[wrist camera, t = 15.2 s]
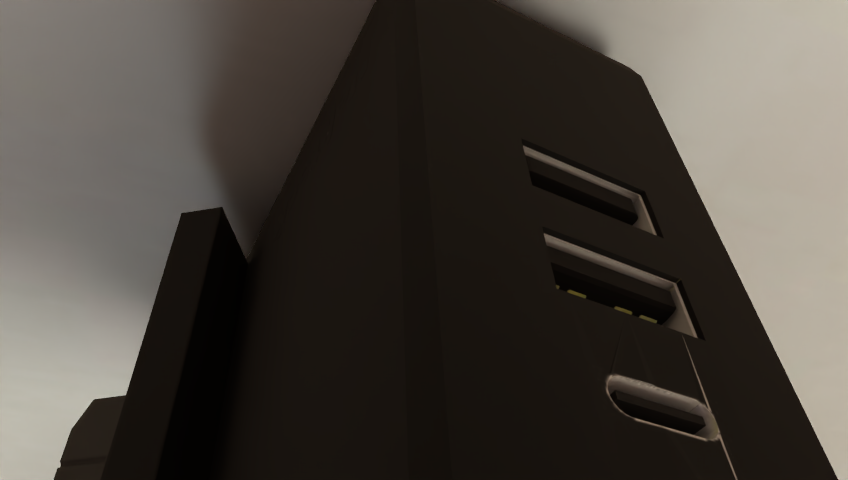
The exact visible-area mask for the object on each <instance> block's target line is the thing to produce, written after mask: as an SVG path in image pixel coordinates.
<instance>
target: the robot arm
mask: <svg viewBox="0 0 848 480" xmlns="http://www.w3.org/2000/svg"><path fill="white" fill-rule="evenodd" d="M247 267H248V263H247V261H246V258H245V256H244V254H243V252H242V250H241V248H240V245H239V243H238V241H237V239H236V237H235V234H234V232H233V230H232V228H231V226H230V223H229V221H228V219H227V217H226V215H225V213H224V210H223V208H222V207H220V208H213V209H207V210H200V211H193V212H187V213H181V217H180V220H179V223H178V227H177V230H176V233H175V236H174V240H173V243H172V246H171V250H170V253H169V256H168V259H167V263H166V266H165V269H164V273H163V276H162V279H161V282H160V286H159V289H158V292H157V295H156V299H155V302H154V305H153V309H152V312H151V315H150V318H149V322H148V325H147V328H146V332H145V335H144V338H143V341H142V345H141V348H140V351H139V355H138V358H137V361H136V364H135V368H134V371H133V374H132V378H131V381H130V384H129V387H128V391H127V394H126V395H125V396H117V397H110V398H102V399H95V400H93V401H92V403H91V404H90V405H89V407H88V408H87V409H86V411H85V412H84V413H83V415H82V416H81V417H80V419H79V420H78V421H77V423H76V424H75V425H74V427H73V428H72V429H71V432H70V435H69V438H68V441H67V443H66V446H65V449H64V452H63V455H62V458H61V460H60V463H61V467H60V468H58V469H57V472H56V474H55V477H54V480H209V475H210V469H211V464H212V458H213V453H214V447H215V442H216V436H217V431H218V426H219V420H220V415H221V409H222V404H223V398H224V393H225V387H226V382H227V376H228V371H229V365H230V360H231V355H232V349H233V344H234V338H235V333H236V327H237V322H238V316H239V311H240V305H241V300H242V294H243V289H244V284H245V278H246V273H247Z"/></svg>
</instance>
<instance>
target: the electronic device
mask: <svg viewBox="0 0 848 480" xmlns="http://www.w3.org/2000/svg"><path fill="white" fill-rule="evenodd" d="M246 261H247V263H248V267H247V273H246V278H245V284H244V289H243V294H242V300H241V305H240V311H239V316H238V322H237V327H236V333H235V338H234V344H233V349H232V355H231V360H230V365H229V371H228V376H227V382H226V387H225V393H224V398H223V404H222V409H221V415H220V420H219V426H218V431H217V436H216V442H215V447H214V453H213V458H212V464H211V469H210V475H209V480H838V479H837V477H836V475H835V473H834V471H833V469H832V466H831V464H830V462H829V460H828V458H827V456H826V454H825V452H824V450H823V448H822V446H821V444H820V442H819V440H818V438H817V436H816V434H815V432H814V430H813V428H812V425H811V423H810V421H809V419H808V417H807V415H806V413H805V411H804V409H803V407H802V405H801V403H800V401H799V399H798V397H797V395H796V393H795V391H794V389H793V386H792V384H791V382H790V380H789V378H788V376H787V374H786V372H785V370H784V368H783V366H782V364H781V362H780V360H779V358H778V356H777V354H776V352H775V350H774V348H773V345H772V343H771V341H770V339H769V337H768V335H767V333H766V331H765V329H764V327H763V325H762V323H761V321H760V319H759V317H758V315H757V313H756V311H755V309H754V307H753V304H752V302H751V300H750V298H749V296H748V294H747V292H746V290H745V288H744V286H743V284H742V282H741V280H740V278H739V276H738V274H737V272H736V270H735V268H734V266H733V263H732V261H731V259H730V257H729V255H728V253H727V251H726V249H725V247H724V245H723V243H722V241H721V239H720V237H719V235H718V233H717V231H716V229H715V227H714V225H713V222H712V220H711V218H710V216H709V214H708V212H707V210H706V208H705V206H704V204H703V202H702V200H701V198H700V196H699V194H698V192H697V190H696V188H695V186H694V184H693V181H692V179H691V177H690V175H689V173H688V171H687V169H686V167H685V165H684V163H683V161H682V159H681V157H680V155H679V153H678V151H677V149H676V147H675V145H674V142H673V140H672V138H671V136H670V134H669V132H668V130H667V128H666V126H665V124H664V122H663V120H662V118H661V116H660V114H659V112H658V110H657V108H656V106H655V104H654V101H653V99H652V97H651V95H650V93H649V91H648V89H647V87H646V85H645V83H644V81H643V79H642V77H641V76H640V75H639V74H637V73H636V72H634V71H633V70H632V69H630V68H629V67H627V66H625V65H623V64H621V63H619V62H617V61H615V60H613V59H611V58H609V57H607V56H605V55H603V54H601V53H599V52H597V51H595V50H593V49H591V48H589V47H587V46H585V45H583V44H581V43H579V42H577V41H575V40H573V39H571V38H569V37H567V36H565V35H563V34H561V33H559V32H557V31H554V30H552V29H550V28H548V27H546V26H544V25H542V24H540V23H538V22H536V21H534V20H532V19H530V18H528V17H526V16H524V15H522V14H520V13H518V12H516V11H514V10H512V9H510V8H508V7H506V6H504V5H502V4H500V3H498V2H496V1H494V0H376V2H375V4H374V6H373V8H372V10H371V12H370V14H369V16H368V18H367V20H366V22H365V24H364V26H363V28H362V30H361V32H360V34H359V36H358V38H357V40H356V42H355V44H354V46H353V48H352V50H351V52H350V54H349V56H348V58H347V60H346V62H345V64H344V66H343V68H342V70H341V72H340V74H339V76H338V78H337V80H336V82H335V84H334V86H333V88H332V90H331V92H330V94H329V96H328V98H327V100H326V102H325V104H324V106H323V108H322V110H321V112H320V114H319V116H318V118H317V120H316V122H315V124H314V126H313V128H312V130H311V132H310V134H309V136H308V138H307V140H306V142H305V144H304V146H303V148H302V150H301V152H300V154H299V156H298V158H297V160H296V162H295V164H294V166H293V168H292V170H291V172H290V173H289V175H288V177H287V179H286V181H285V183H284V185H283V187H282V189H281V191H280V193H279V195H278V197H277V199H276V201H275V203H274V205H273V207H272V209H271V211H270V213H269V215H268V217H267V219H266V221H265V223H264V225H263V227H262V229H261V231H260V233H259V235H258V237H257V239H256V241H255V243H254V245H253V247H252V249H251V251H250V253H249V255H248V257H247V259H246Z"/></svg>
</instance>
